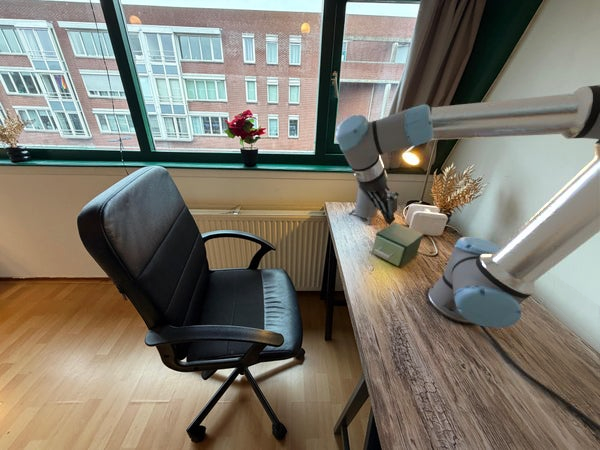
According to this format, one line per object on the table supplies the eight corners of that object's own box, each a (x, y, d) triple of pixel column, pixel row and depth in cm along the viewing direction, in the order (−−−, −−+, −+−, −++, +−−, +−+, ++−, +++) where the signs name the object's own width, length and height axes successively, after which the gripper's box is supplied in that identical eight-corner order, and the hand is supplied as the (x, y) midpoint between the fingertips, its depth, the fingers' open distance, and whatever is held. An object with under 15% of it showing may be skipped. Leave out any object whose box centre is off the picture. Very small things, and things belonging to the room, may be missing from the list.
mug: (383, 225, 124) (395, 177, 112) (355, 224, 123) (364, 176, 111) (371, 209, 140) (381, 166, 128) (346, 209, 139) (353, 165, 127)
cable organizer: (434, 227, 125) (441, 206, 119) (441, 238, 116) (449, 216, 110) (403, 223, 126) (409, 203, 121) (408, 233, 117) (415, 212, 112)
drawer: (392, 270, 90) (397, 253, 86) (366, 256, 97) (369, 239, 93) (413, 253, 101) (419, 237, 97) (388, 241, 108) (392, 226, 104)
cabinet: (400, 267, 93) (407, 246, 89) (371, 252, 101) (376, 232, 97) (416, 253, 102) (423, 234, 98) (389, 241, 110) (394, 222, 106)
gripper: (343, 175, 69) (368, 221, 85) (379, 190, 59) (400, 238, 76) (360, 156, 69) (382, 205, 86) (399, 168, 60) (415, 220, 76)
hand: (390, 221), depth 81 cm, fingers closed
